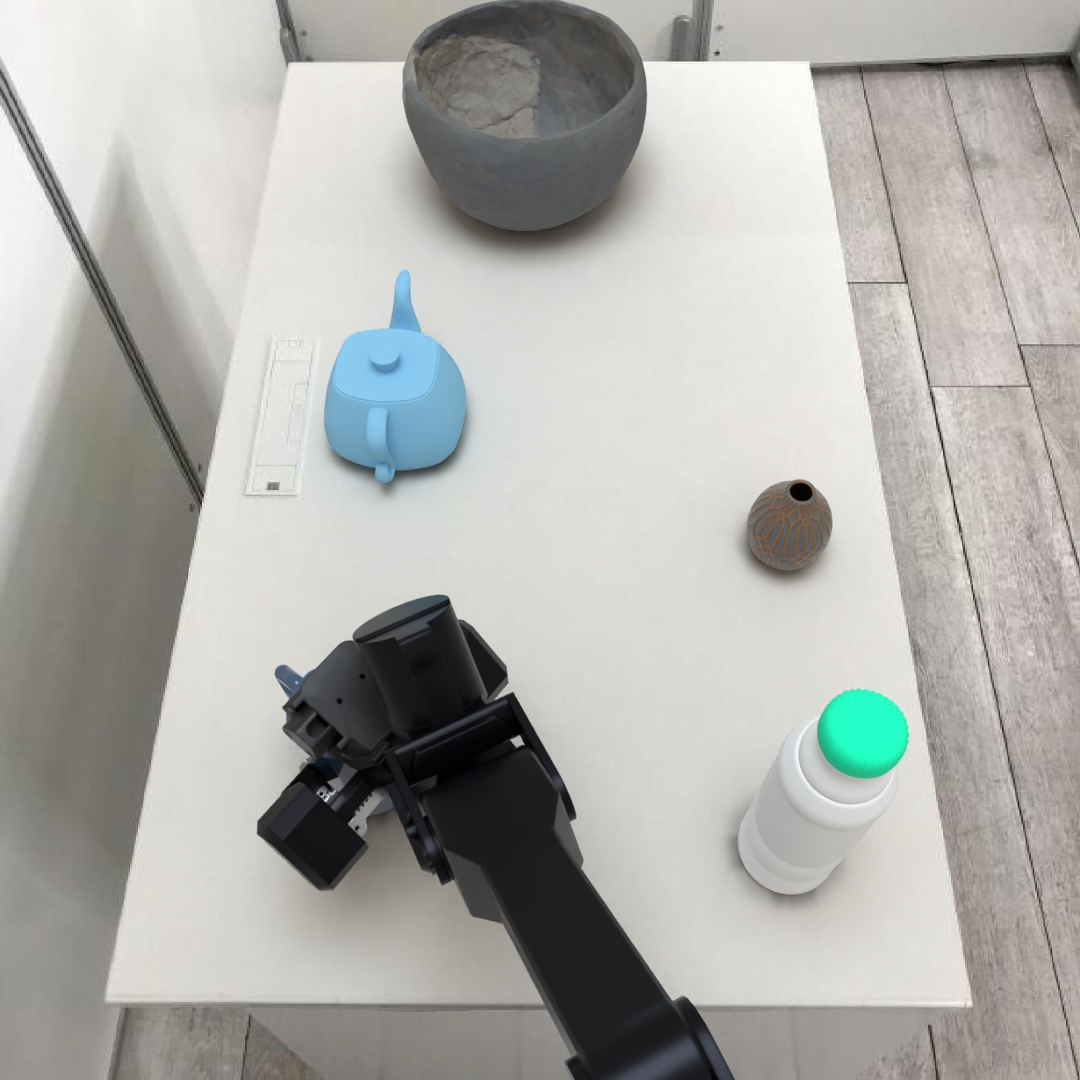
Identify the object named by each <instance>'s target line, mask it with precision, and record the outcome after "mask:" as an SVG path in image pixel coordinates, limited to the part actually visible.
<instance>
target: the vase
mask: <svg viewBox="0 0 1080 1080" xmlns="http://www.w3.org/2000/svg"><path fill="white" fill-rule="evenodd" d="M833 523H834V521H833V513H832V510H831V506H830V504H829V502H828V500H827V498H826V497H825V496H824V494H823V493H822V492H821V491H819V489H817V488H816V487H815V486H814V484H813V483H811V482H810V481H809V480H806V479H802V478H797V479H794V480H793V479H792V480H783V481H779V482H776V483H774V484H772V485H769V487H767V488H766V489H764V490H763V491H762V492H761V493H760V494H759V495H758V496H757V497H756V499H755V500H754V502H753V503H752V505H751V508H750V509H749V512H748V515H747V519H746V537H747V541H748V544H749V547H750V548H751V550H752V553H754V556H756V557H757V558H758V560H759V561H761V562H762V564H765V565H767V566H768V567H771V568H773V569H776V570H781V571H796V570H800V569H802V568H806V567H807V566H809V565H810V564H812V563H813V562H815V561H816V560H817V559H818V558H819V557H820V556H821V555H822V554H823V552H825V550H826V548H827V546H828V544H829V542H830V540H831V536H832V533H833V527H834V526H833Z"/></svg>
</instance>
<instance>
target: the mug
mask: <svg viewBox="0 0 1080 1080" xmlns="http://www.w3.org/2000/svg"><path fill="white" fill-rule="evenodd" d="M316 668H317V667H316ZM316 668H314V669H311V670H309V671H308V672H306V673H305V675H304V676H302V675H301V674H299V672H296V671H295V669H293V668H292V667H290V666H289V665H287V664H279V665H278V666H277V667H275V669H274V677H275V679H276V681H277V682H278V684H279V685H280V687H281V689H282V690H283V692H284V694H285V696H286V697H287V699H288V700H289V699H290V698H291V697H292V696H293V695H294V694H295V693H296V691H297V689H298V688H299V686H300V685H301V684H302V683H303V682H304V680H305V679H306V678H307V677H308V676H309V675H310V674H311V673H312V672H313V671H314V670H315V669H316ZM288 720H289V715H288V714H287V713H286V712H285V724H286V723H287V722H288ZM295 745H296V747H297V748H298V749H299V751H300V753H301V754H302V756H303V758H304V759H305V760H306V761H307V762H306V763H309V764H310V765H311V766H312V767H313V768H314V769H315V770H316V771H317V772H318V773H319V774H320V775H321V776H322V777H323V778H324V779H325V780H326V781H327V782H328V783H329V784H330V785H331V786H332V787H333V788H334V789H336V790H337V791H338V792H339V791H340V790H341V789H342V788H343V787H344V786H345V785H346V783H347V782H348V781H349V780H350V779H351V778H352V777H353V776H354V774H355V773H356V772H357V771H358V770H356V769H353V768H351V767H349V766H348V765H347V764H346V763H345V762H344V761H343V760H342V759H341V758H340V757H339V758H338V759H337V758H336V757H334V756H333V755H332V754H331V753H329V752H325V754H324V755H323V756H322V757H321V758H320V759H318V760H314V759H313V758H311V757H310V756H309V755H308V754H307V753H306V752H304V751H303V750H302V749H301V748H300V747H299V746H298V745H297V744H296V743H295ZM373 791H374V790H373ZM370 795H371V794H370ZM370 795H369V796H370ZM361 805H362V804H361ZM394 808H395V807H394V805H393V803H392V800H391V798H389V797H387V796H385V797H384V798H383V799H382V801H381V802H380V803H379V804H378V805H377V806H376V808H375V809H374V810H373V811H372V812H371V813H370V815H369V816H368V817H371V816H376V815H380V814H383V813H386V812H388V811H390V810H392V809H394ZM357 810H358V809H357Z"/></svg>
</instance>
